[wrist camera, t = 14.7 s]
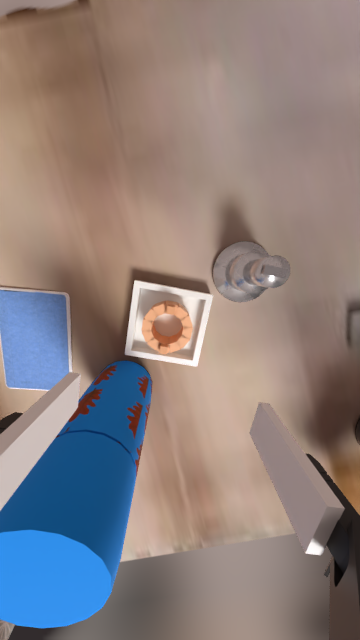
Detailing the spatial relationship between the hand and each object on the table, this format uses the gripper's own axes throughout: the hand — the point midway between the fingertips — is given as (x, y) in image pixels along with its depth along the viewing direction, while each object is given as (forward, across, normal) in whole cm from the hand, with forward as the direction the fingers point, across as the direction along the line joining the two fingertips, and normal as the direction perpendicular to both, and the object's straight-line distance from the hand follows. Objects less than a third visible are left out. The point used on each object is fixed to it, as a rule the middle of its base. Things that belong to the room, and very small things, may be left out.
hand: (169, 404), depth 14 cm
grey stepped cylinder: (+22, -10, -12) cm, 27 cm away
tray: (+22, +1, -1) cm, 22 cm away
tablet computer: (+23, +24, +7) cm, 34 cm away
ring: (+21, +1, -1) cm, 21 cm away
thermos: (+22, +7, +13) cm, 27 cm away
